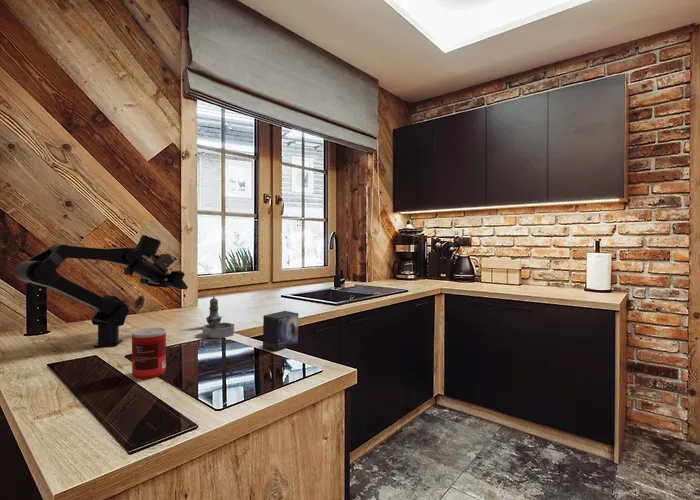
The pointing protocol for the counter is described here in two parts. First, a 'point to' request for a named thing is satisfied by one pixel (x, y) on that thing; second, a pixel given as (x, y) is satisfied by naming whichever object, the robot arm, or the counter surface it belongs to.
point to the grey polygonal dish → (218, 330)
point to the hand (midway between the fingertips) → (178, 287)
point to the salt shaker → (213, 312)
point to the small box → (280, 330)
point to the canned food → (148, 352)
